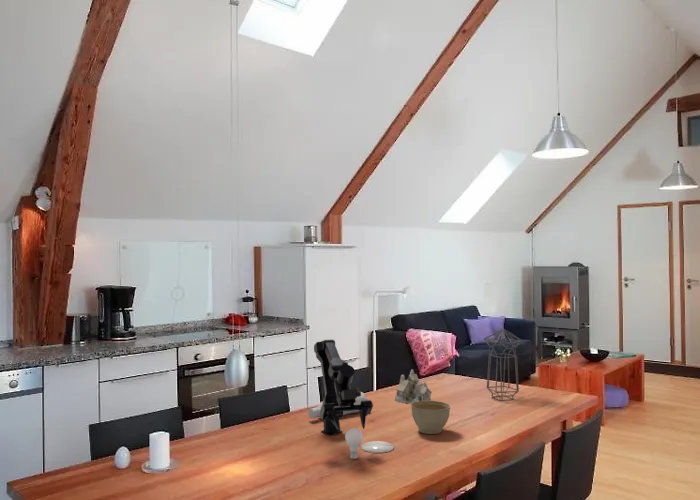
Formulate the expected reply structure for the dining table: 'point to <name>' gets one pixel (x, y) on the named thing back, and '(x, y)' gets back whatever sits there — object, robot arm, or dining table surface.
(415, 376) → the ceramic cottage
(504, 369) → the geometric lantern
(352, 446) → the lightbulb
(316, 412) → the bottle
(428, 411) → the planter bowl
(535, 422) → the dining table surface
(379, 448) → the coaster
